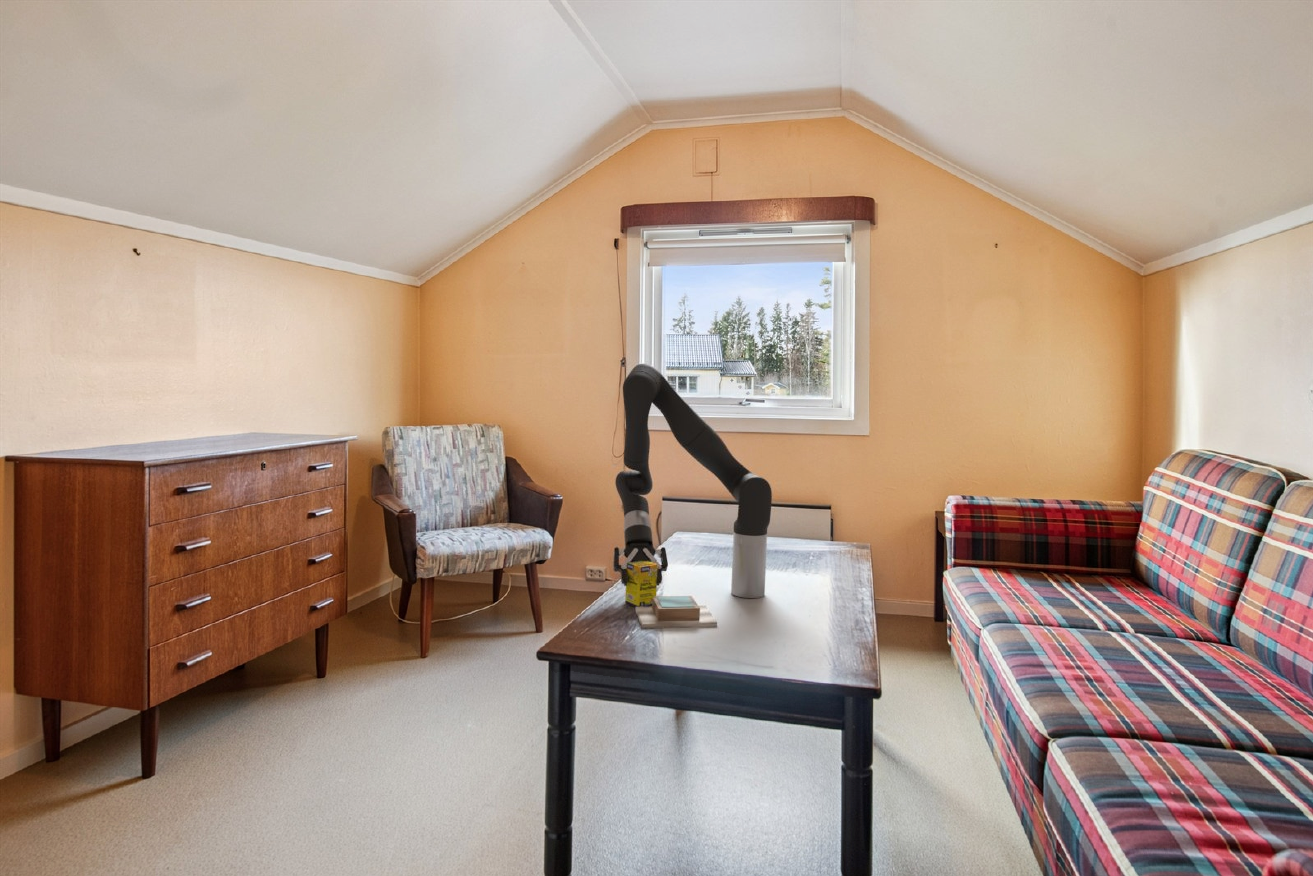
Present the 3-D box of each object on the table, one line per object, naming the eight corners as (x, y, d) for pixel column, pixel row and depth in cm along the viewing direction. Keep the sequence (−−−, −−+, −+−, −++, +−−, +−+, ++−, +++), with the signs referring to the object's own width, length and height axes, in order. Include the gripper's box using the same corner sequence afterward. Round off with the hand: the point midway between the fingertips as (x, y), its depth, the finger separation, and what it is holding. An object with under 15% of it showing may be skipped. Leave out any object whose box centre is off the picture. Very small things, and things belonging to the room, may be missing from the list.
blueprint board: (635, 610, 179) (635, 594, 179) (705, 609, 182) (705, 593, 181) (642, 628, 166) (642, 610, 166) (717, 626, 169) (717, 609, 168)
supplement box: (638, 609, 180) (640, 567, 179) (624, 603, 184) (625, 562, 184) (656, 605, 184) (658, 564, 183) (642, 599, 188) (643, 559, 188)
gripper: (612, 523, 189) (615, 577, 178) (665, 523, 191) (671, 576, 181) (610, 538, 195) (613, 591, 184) (661, 538, 197) (667, 591, 186)
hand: (642, 584), depth 182 cm, fingers closed on supplement box, 8 cm apart
